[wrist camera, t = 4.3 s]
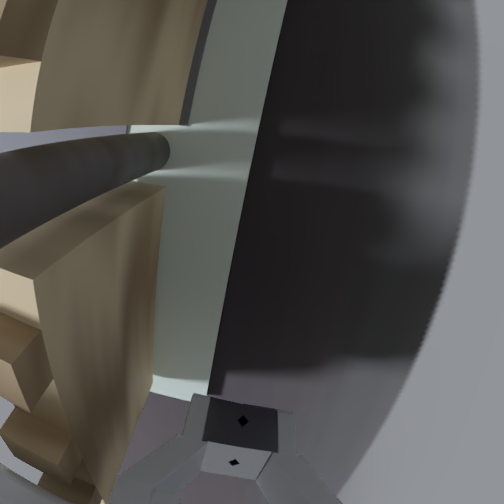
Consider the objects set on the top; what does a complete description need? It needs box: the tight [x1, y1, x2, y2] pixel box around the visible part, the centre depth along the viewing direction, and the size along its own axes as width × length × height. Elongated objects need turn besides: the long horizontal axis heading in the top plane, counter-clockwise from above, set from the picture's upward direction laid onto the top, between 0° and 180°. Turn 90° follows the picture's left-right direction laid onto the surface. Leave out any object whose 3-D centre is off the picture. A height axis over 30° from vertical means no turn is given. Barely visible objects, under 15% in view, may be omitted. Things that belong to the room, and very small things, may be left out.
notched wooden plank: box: [0, 181, 166, 504], centre depth 7 cm, size 8×2×7 cm, turn 168°
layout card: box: [0, 0, 288, 401], centre depth 9 cm, size 20×12×1 cm, turn 168°
